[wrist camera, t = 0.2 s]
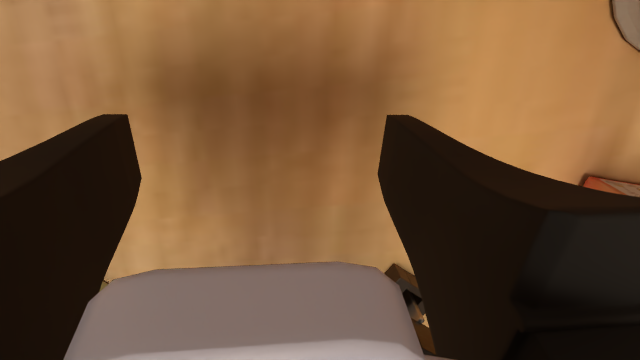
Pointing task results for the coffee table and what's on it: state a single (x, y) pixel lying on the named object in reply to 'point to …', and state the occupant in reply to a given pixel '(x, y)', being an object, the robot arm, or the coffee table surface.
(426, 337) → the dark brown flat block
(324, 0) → the coffee table surface
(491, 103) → the coffee table surface
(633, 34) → the mug
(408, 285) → the stand
